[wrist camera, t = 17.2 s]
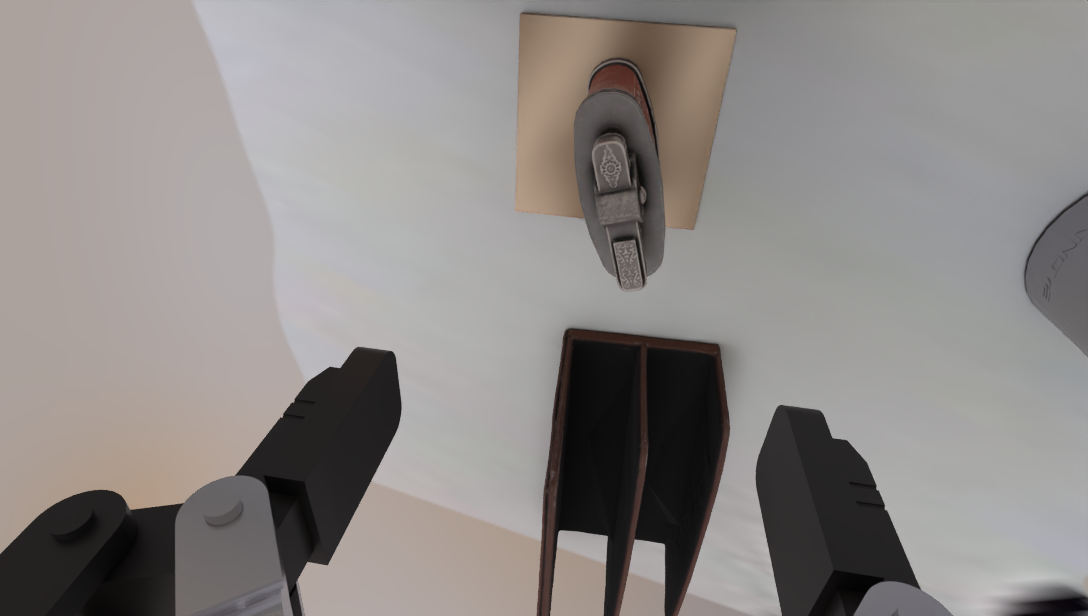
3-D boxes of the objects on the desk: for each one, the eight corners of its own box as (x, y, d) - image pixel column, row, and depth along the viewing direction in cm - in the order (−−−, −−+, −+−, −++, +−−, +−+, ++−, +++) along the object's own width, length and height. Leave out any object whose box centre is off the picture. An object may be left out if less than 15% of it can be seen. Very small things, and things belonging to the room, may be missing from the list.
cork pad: (735, 28, 26) (736, 29, 26) (692, 225, 32) (693, 230, 31) (522, 12, 27) (520, 14, 27) (517, 207, 33) (515, 211, 32)
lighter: (576, 65, 27) (549, 120, 19) (646, 49, 27) (649, 99, 18) (606, 217, 31) (594, 316, 23) (668, 206, 31) (678, 306, 22)
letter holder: (552, 516, 48) (523, 703, 36) (565, 324, 37) (530, 503, 25) (671, 533, 47) (681, 731, 35) (721, 341, 36) (760, 536, 24)
